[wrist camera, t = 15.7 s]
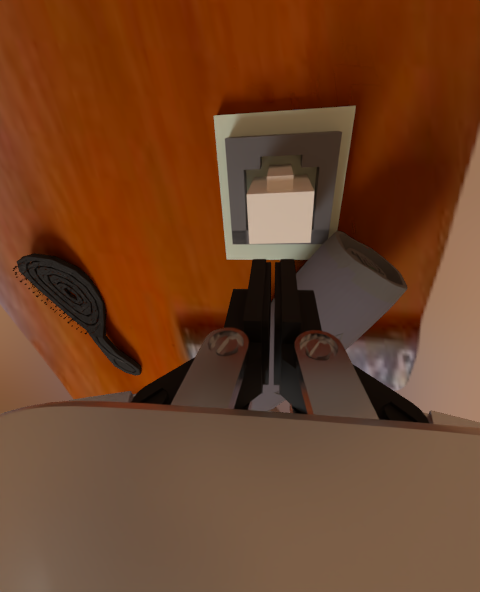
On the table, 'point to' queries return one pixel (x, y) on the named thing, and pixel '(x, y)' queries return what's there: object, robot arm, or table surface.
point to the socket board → (282, 150)
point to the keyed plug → (280, 207)
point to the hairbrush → (75, 301)
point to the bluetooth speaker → (341, 296)
